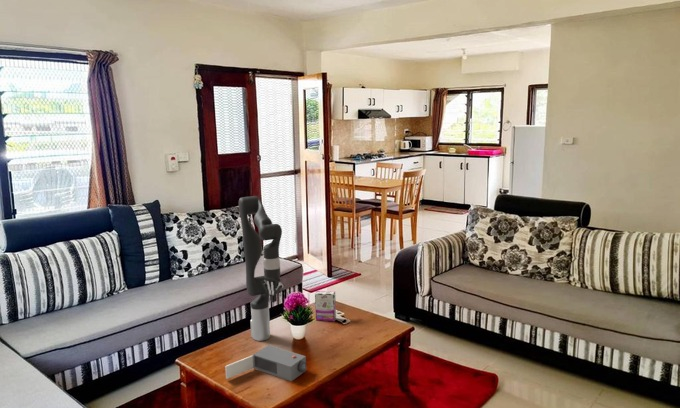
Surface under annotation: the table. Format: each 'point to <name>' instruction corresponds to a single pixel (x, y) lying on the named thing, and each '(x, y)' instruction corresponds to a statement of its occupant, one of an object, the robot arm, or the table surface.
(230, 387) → the table surface
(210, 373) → the table surface
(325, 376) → the table surface
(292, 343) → the table surface
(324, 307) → the candy bar box
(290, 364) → the camera box
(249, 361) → the side door
